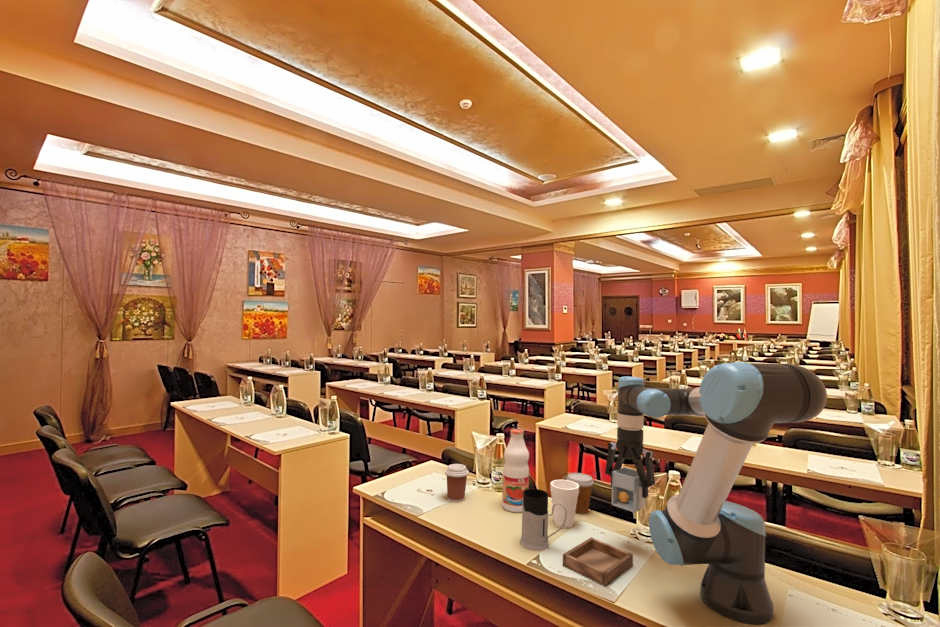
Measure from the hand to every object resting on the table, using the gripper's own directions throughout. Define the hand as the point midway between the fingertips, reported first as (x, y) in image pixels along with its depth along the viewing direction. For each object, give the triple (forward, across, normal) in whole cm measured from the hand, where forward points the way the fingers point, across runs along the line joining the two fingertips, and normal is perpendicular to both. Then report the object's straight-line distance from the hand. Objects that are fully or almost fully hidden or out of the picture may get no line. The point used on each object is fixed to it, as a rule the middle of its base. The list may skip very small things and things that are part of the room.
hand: (628, 503), depth 133 cm
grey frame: (+1, 0, 0) cm, 1 cm away
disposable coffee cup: (+13, +24, -12) cm, 30 cm away
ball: (-1, 0, 0) cm, 1 cm away
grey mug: (+13, +17, +19) cm, 29 cm away
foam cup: (+13, +22, +1) cm, 26 cm away
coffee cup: (+13, +61, +15) cm, 64 cm away
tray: (+13, +1, +16) cm, 21 cm away
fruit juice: (+13, +41, +4) cm, 43 cm away
